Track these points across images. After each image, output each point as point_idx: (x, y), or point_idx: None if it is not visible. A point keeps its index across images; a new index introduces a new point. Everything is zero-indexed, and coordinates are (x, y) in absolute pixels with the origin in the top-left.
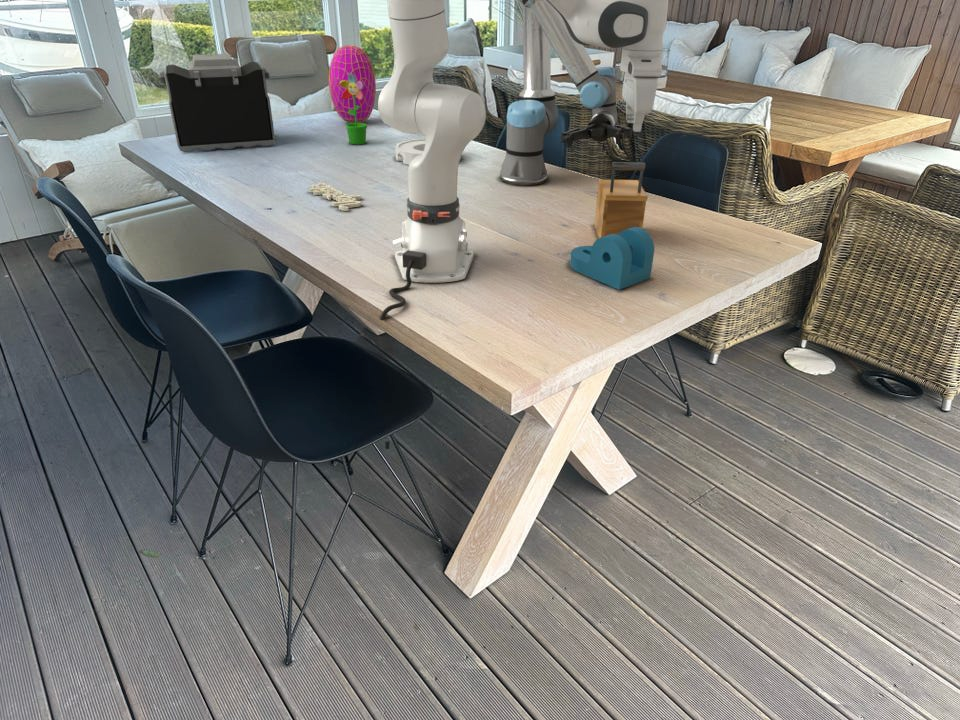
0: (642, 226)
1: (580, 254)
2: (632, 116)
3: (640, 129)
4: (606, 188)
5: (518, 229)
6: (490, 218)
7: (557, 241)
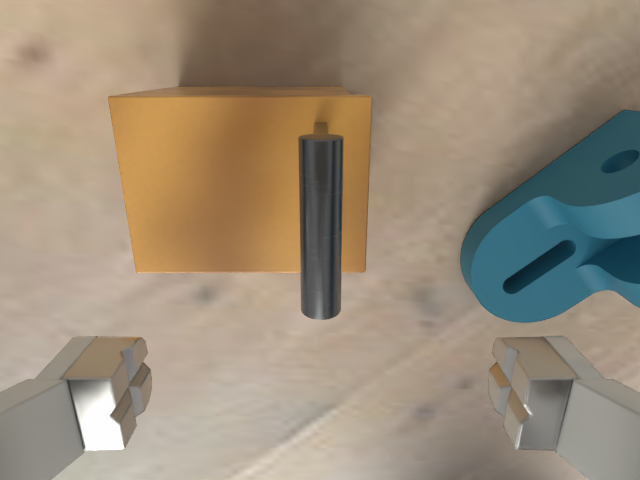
0: (345, 89)
1: (535, 300)
2: (122, 394)
3: (570, 348)
4: (270, 259)
5: (253, 403)
6: (179, 459)
7: (335, 320)
